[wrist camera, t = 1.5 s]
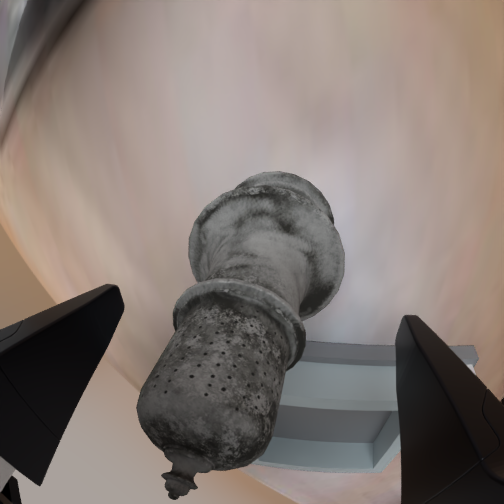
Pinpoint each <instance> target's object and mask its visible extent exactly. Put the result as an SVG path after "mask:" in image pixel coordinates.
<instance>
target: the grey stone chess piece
mask: <svg viewBox="0 0 504 504" xmlns="http://www.w3.org/2000/svg"><path fill="white" fill-rule="evenodd" d="M344 258H345V254H344V250H343V246H342V243H341V239H340V236H339V233H338V231H337V230H336V228H335V227H334V218H333V215H332V212H331V208H330V205H329V203H328V202H327V200H326V199H325V197H324V196H323V194H322V193H321V192H320V191H319V190H318V189H317V188H316V187H315V186H314V185H313V184H311V183H310V182H309V181H307V180H305V179H303V178H301V177H299V176H297V175H295V174H290V173H285V172H280V171H277V172H263V173H261V174H258V175H255V176H252V177H249V178H248V179H246V180H245V181H244V182H242V183H241V184H239V185H238V186H237V187H236V188H235V190H232V191H229V192H226V193H224V194H222V195H220V196H219V197H218V198H216V199H215V200H214V201H212V202H211V203H210V204H208V205H207V206H206V207H205V208H204V210H203V211H202V212H201V214H200V215H199V216H198V218H197V219H196V221H195V222H194V225H193V228H192V231H191V234H190V237H189V260H190V264H191V268H192V272H193V275H194V277H195V278H196V280H197V282H198V283H197V284H195V285H194V286H192V287H190V288H188V289H187V290H186V291H185V292H184V293H183V294H182V295H181V297H180V298H179V299H178V300H177V302H176V305H175V308H174V311H173V326H174V328H175V331H176V332H175V333H174V335H173V337H172V338H171V340H170V342H169V343H168V345H167V347H166V348H165V350H164V352H163V353H162V355H161V357H160V358H159V360H158V362H157V363H156V365H155V367H154V368H153V370H152V372H151V373H150V375H149V377H148V378H147V380H146V382H145V384H144V385H143V387H142V389H141V392H140V395H139V399H138V403H137V407H136V408H137V413H138V418H139V422H140V425H141V427H142V429H143V430H144V432H145V433H146V435H147V436H148V437H149V439H150V440H151V441H152V443H153V444H154V445H155V446H157V447H158V448H159V449H160V450H162V451H163V452H164V455H165V457H166V458H167V459H168V460H169V461H171V462H172V463H173V466H172V470H171V471H170V472H167V473H163V474H162V475H161V476H162V477H163V478H164V479H165V480H166V483H165V488H166V490H167V491H169V493H168V496H169V498H171V499H173V500H176V499H178V498H179V496H184V495H187V494H188V492H189V490H190V489H194V490H195V489H197V488H198V487H197V486H196V484H195V483H194V476H195V474H196V473H197V472H199V473H208V472H209V471H211V470H217V471H223V470H224V471H226V470H231V469H236V468H240V467H244V466H247V465H249V464H251V463H252V462H254V461H255V460H256V459H258V458H259V457H261V456H262V455H263V454H264V453H265V451H266V449H267V447H268V445H269V443H270V441H271V439H272V437H273V432H274V428H275V423H276V419H277V414H278V409H279V404H280V399H281V394H282V389H283V384H284V379H285V374H286V371H288V370H290V369H291V368H293V367H294V366H295V365H296V364H297V362H298V361H299V360H300V359H301V357H302V355H303V352H304V349H305V347H306V332H305V329H304V326H303V324H302V321H303V320H305V319H308V318H310V317H312V316H314V315H316V314H317V313H318V312H319V311H321V310H322V309H323V308H325V307H326V306H327V305H328V304H329V303H330V301H331V300H332V299H333V297H334V296H335V294H336V293H337V292H338V290H339V287H340V284H341V281H342V278H343V275H344Z"/></svg>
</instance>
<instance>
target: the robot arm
mask: <svg viewBox="0 0 504 504" xmlns="http://www.w3.org/2000/svg"><path fill="white" fill-rule="evenodd" d="M123 312H124V302H123V299H122V296H121V293H120V289H119V287H118V286H116V285H113V284H105V285H103V286H100V287H98V288H96V289H93V290H91V291H88V292H86V293H84V294H81V295H79V296H77V297H74V298H72V299H70V300H67V301H65V302H63V303H60V304H58V305H56V306H54V307H51V308H49V309H47V310H44V311H42V312H40V313H37V314H35V315H33V316H31V317H28V318H26V319H25V320H22V321H20V322H17V323H15V324H12V325H10V326H8V327H6V328H3V329H1V330H0V504H22V503H21V498H20V493H19V488H18V481H17V479H16V478H15V477H13V476H12V474H13V472H14V471H15V469H16V470H18V471H19V472H20V473H22V474H23V475H25V476H26V477H27V478H28V479H30V480H31V481H32V482H34V483H35V484H37V485H38V486H41V484H42V482H43V480H44V477H45V475H46V472H47V470H48V467H49V465H50V463H51V461H52V458H53V456H54V454H55V451H56V449H57V447H58V445H59V442H60V440H61V438H62V435H63V433H64V431H65V429H66V427H67V425H68V423H69V421H70V418H71V417H72V414H73V412H74V410H75V408H76V406H77V404H78V402H79V400H80V398H81V396H82V394H83V392H84V390H85V389H86V387H87V385H88V383H89V381H90V379H91V377H92V375H93V373H94V371H95V370H96V368H97V366H98V364H99V362H100V360H101V359H102V357H103V355H104V353H105V351H106V349H107V347H108V345H109V343H110V341H111V339H112V337H113V334H114V332H115V330H116V328H117V325H118V323H119V321H120V319H121V316H122V314H123ZM395 351H396V395H397V405H398V416H399V429H400V446H401V504H504V398H503V399H502V400H501V401H502V403H501V402H500V401H499V400H498V399H497V398H496V397H495V396H494V394H493V393H492V392H491V391H490V390H489V389H487V387H486V386H485V385H484V384H483V382H482V381H481V380H480V379H479V378H478V377H477V376H476V375H475V374H474V373H473V372H472V371H471V369H470V368H469V367H468V366H467V365H466V364H465V363H464V362H463V361H462V360H461V359H460V358H459V357H458V356H457V355H456V354H455V353H454V352H453V351H452V350H451V349H450V348H449V347H448V346H447V344H446V343H445V342H444V341H443V340H442V339H441V338H440V337H439V336H438V335H437V334H436V333H435V332H434V331H433V330H432V329H431V328H430V327H428V326H427V325H426V324H425V323H424V322H423V321H422V320H421V319H420V318H419V317H418V316H416V315H405V316H403V318H402V320H401V323H400V326H399V329H398V332H397V336H396V340H395Z"/></svg>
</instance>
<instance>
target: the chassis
mask: <svg viewBox="0 0 504 504" xmlns="http://www.w3.org/2000/svg"><path fill="white" fill-rule="evenodd" d="M448 347H449V348H450V349H451V350H452V351H453V352H454V353H455V354H456V355H457V356H458V357H459V358H460V359H461V360H462V361H463V362H464V363H465V364H466V365H467V366H468V367H469V368H470V369H471V371H472V372H473V373H474V374H475V371H474V366H475V364H476V363H477V361H478V359H479V357H478V355H477V352H476V350H475V347H474V345H473V346H448ZM475 375H476V374H475ZM400 450H401V446H400V429H399V416H398V405H397V395H396V351H395V346H379V345H356V344H340V343H325V342H313V341H306V347H305V349H304V352H303V355H302V357H301V359H300V360H299V361H298V362H297V364H296V365H295V366H294V367H293V368H291V369H290V370H288V371H286V374H285V379H284V384H283V389H282V394H281V399H280V404H279V409H278V414H277V419H276V423H275V428H274V432H273V437H272V439H271V441H270V443H269V445H268V447H267V449H266V451H265V453H264V454H263V455H262V456H261V457H259V458H258V459H256V460H255V461H254V462H252V463H251V464H256V465H262V466H269V467H276V468H284V469H293V470H303V471H316V472H335V473H379V472H382V471H383V470H384V469H385V468H386V466H387V465H388V464H389V463H390V462H391V461H392V460H393V458H394V457H395V456H396V455H397V454H398V452H399V451H400Z"/></svg>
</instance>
